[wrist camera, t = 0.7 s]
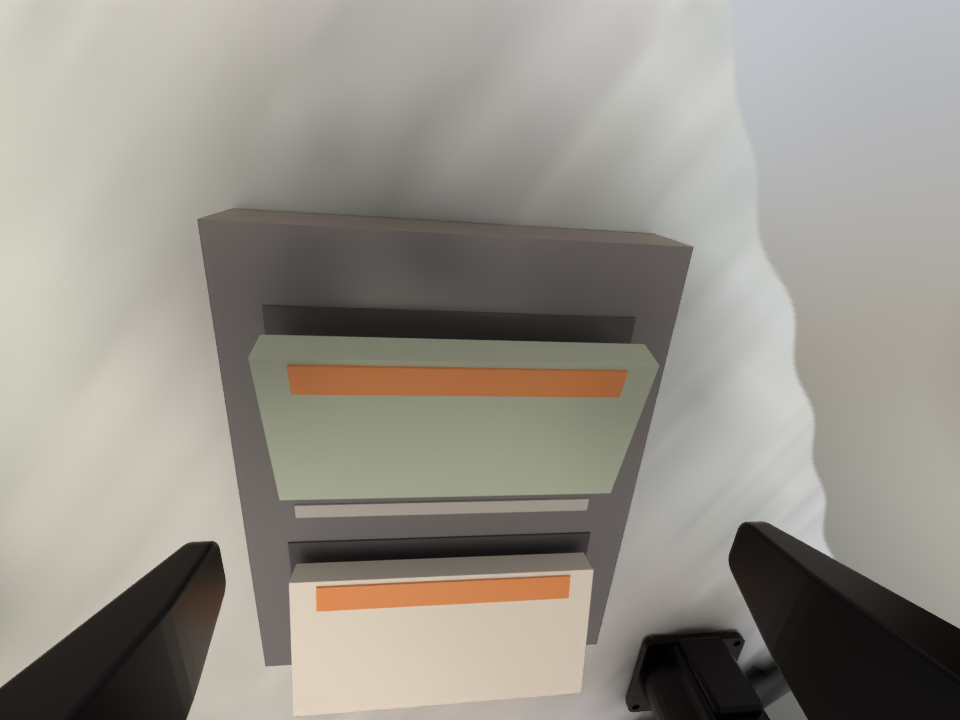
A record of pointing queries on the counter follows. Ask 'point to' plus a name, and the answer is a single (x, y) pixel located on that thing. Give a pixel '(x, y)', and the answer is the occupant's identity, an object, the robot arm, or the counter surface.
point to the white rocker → (437, 630)
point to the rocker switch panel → (426, 315)
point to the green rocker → (446, 415)
